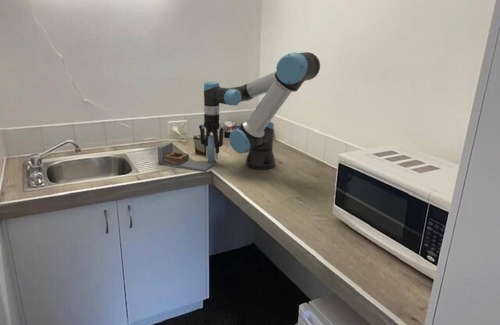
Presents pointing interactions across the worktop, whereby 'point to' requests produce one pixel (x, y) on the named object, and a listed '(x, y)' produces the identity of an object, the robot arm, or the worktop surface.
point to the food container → (199, 146)
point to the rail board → (188, 164)
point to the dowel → (211, 149)
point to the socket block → (176, 158)
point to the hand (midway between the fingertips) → (211, 158)
